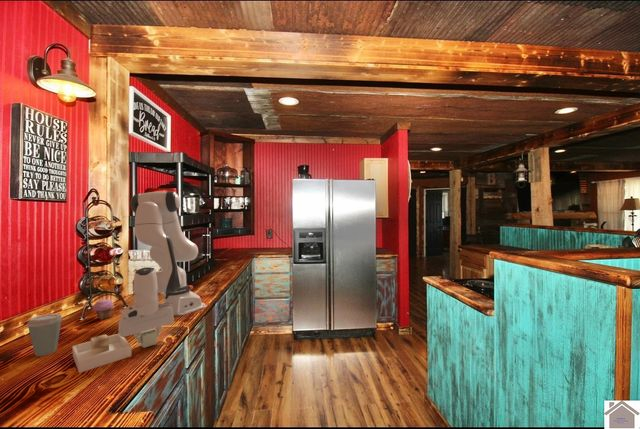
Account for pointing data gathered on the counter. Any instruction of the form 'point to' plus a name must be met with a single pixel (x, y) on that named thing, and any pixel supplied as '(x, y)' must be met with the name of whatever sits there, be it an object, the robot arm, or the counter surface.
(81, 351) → the tray
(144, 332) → the sage block
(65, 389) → the counter surface
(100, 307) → the cupcake
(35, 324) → the disposable coffee cup
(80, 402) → the counter surface
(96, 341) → the maple block
